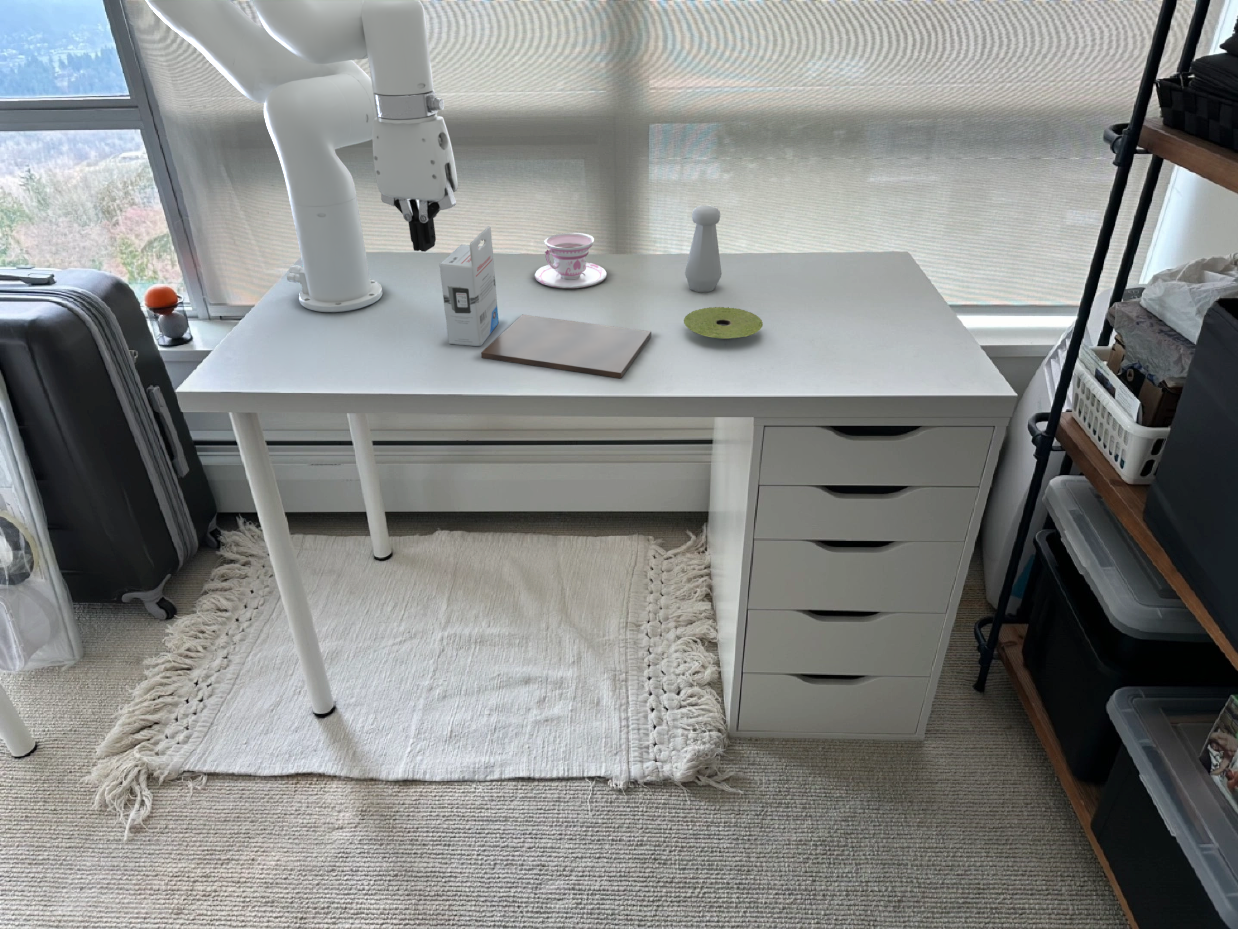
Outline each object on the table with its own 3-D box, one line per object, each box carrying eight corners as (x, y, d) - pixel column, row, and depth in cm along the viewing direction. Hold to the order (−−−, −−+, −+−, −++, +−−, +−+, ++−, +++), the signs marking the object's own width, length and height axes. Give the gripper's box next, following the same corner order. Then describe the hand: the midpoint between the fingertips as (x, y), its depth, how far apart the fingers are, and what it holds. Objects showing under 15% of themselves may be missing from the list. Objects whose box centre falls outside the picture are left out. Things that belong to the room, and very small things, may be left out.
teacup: (575, 259, 150) (574, 224, 147) (621, 277, 143) (621, 240, 139) (520, 276, 143) (517, 239, 140) (566, 295, 136) (564, 257, 132)
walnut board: (481, 357, 117) (480, 352, 116) (522, 319, 128) (522, 314, 127) (621, 378, 111) (621, 372, 111) (651, 336, 123) (651, 331, 122)
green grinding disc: (743, 356, 117) (744, 343, 116) (669, 340, 122) (670, 327, 120) (773, 327, 125) (774, 315, 124) (703, 313, 130) (703, 301, 129)
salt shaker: (726, 285, 140) (732, 205, 133) (710, 296, 135) (715, 214, 128) (694, 278, 142) (698, 199, 135) (677, 289, 138) (681, 208, 131)
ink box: (468, 320, 127) (458, 221, 119) (500, 323, 127) (491, 224, 119) (447, 344, 120) (435, 241, 112) (480, 347, 119) (470, 243, 112)
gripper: (472, 104, 110) (485, 244, 120) (370, 99, 114) (391, 235, 124) (444, 114, 104) (460, 262, 114) (338, 109, 108) (362, 251, 118)
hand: (424, 247), depth 119 cm, fingers closed
